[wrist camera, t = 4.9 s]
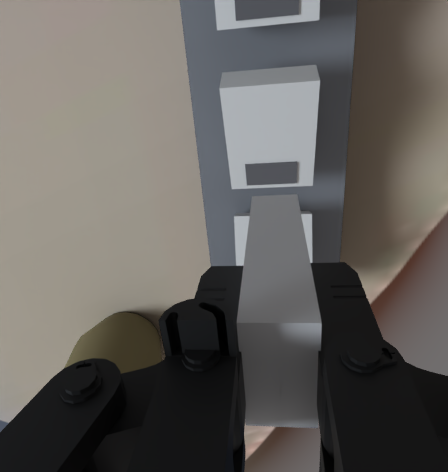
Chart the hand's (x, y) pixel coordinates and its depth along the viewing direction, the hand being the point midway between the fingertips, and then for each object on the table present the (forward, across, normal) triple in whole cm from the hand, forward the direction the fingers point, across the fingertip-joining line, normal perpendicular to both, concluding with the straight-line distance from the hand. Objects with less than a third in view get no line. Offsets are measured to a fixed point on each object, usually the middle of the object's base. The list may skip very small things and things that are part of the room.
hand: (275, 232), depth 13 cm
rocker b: (+9, 0, +2) cm, 9 cm away
